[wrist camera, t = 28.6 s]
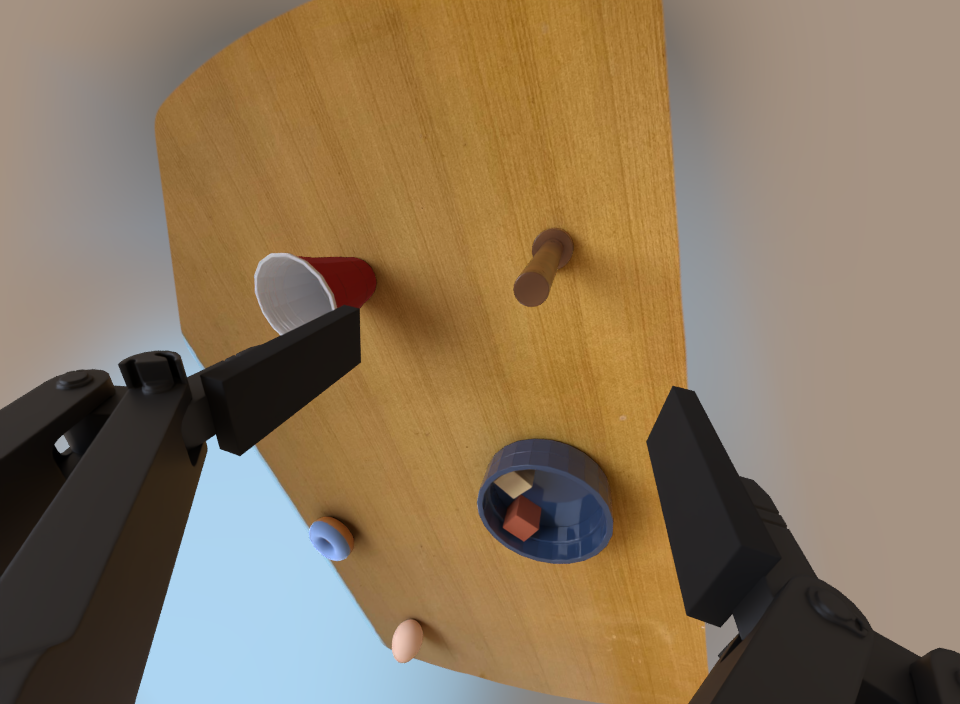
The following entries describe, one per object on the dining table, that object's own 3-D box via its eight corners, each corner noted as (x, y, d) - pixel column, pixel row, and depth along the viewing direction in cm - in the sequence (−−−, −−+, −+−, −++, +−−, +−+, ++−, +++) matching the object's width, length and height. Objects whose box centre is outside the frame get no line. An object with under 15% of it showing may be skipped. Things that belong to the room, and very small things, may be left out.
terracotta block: (541, 507, 55) (538, 529, 52) (527, 520, 57) (524, 542, 53) (520, 494, 55) (516, 514, 51) (507, 506, 57) (502, 527, 53)
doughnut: (313, 528, 77) (298, 547, 73) (323, 504, 72) (307, 523, 68) (352, 552, 76) (339, 572, 72) (364, 529, 72) (351, 549, 68)
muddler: (581, 253, 38) (577, 299, 23) (547, 275, 40) (522, 332, 25) (559, 219, 37) (540, 242, 22) (525, 243, 39) (486, 280, 24)
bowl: (628, 458, 48) (633, 492, 42) (589, 543, 56) (590, 580, 51) (497, 421, 51) (487, 448, 46) (480, 506, 60) (470, 537, 54)
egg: (432, 630, 81) (418, 671, 74) (410, 630, 84) (395, 669, 77) (419, 612, 80) (403, 652, 73) (396, 612, 82) (379, 651, 75)
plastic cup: (309, 248, 47) (230, 265, 37) (374, 227, 44) (307, 240, 33) (341, 322, 51) (278, 357, 41) (403, 309, 47) (352, 344, 37)
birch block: (536, 466, 52) (532, 486, 48) (518, 479, 54) (513, 499, 50) (516, 449, 52) (511, 468, 48) (499, 462, 53) (493, 481, 50)
